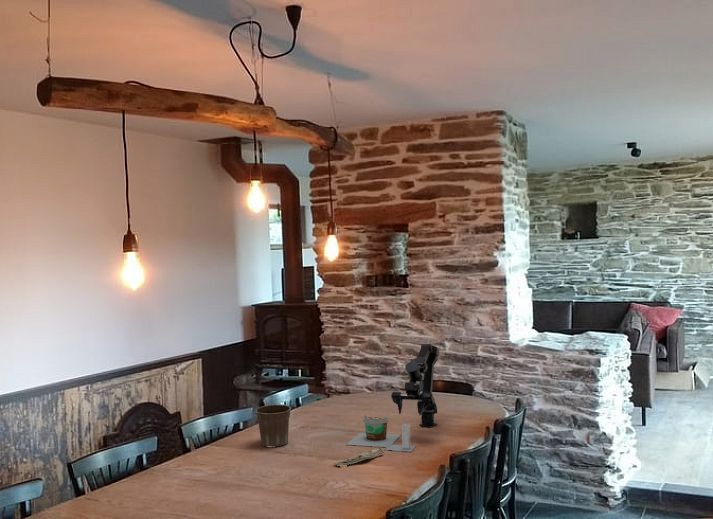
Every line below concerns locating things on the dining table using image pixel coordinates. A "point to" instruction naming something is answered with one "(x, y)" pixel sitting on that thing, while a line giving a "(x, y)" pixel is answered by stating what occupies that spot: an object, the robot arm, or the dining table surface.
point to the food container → (375, 428)
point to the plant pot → (273, 424)
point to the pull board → (386, 440)
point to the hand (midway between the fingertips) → (409, 414)
